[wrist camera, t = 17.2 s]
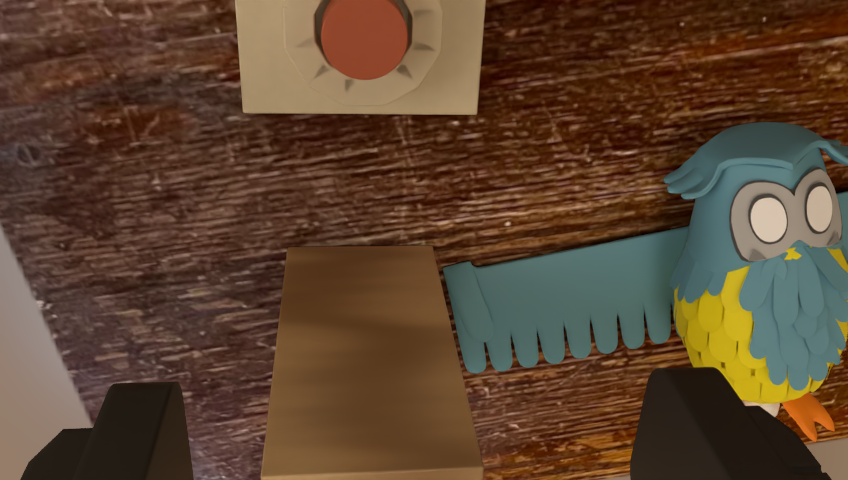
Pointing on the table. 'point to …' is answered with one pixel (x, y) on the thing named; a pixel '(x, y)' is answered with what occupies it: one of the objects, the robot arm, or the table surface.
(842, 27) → the table surface
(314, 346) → the wooden block
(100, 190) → the table surface
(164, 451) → the robot arm
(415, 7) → the push button box
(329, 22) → the red button
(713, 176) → the owl figurine
